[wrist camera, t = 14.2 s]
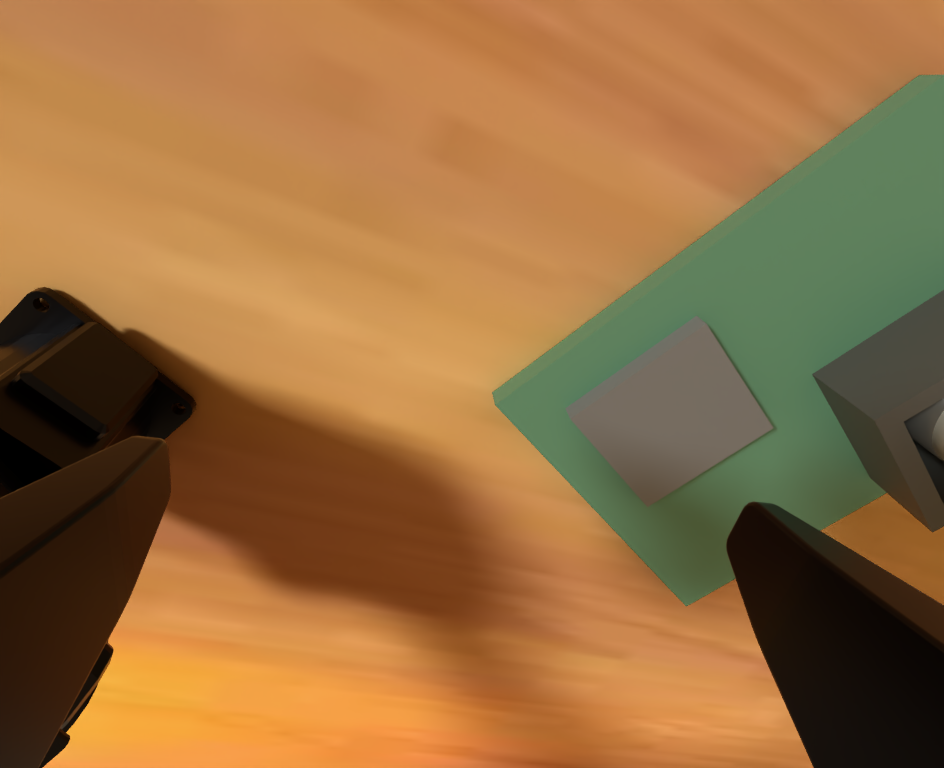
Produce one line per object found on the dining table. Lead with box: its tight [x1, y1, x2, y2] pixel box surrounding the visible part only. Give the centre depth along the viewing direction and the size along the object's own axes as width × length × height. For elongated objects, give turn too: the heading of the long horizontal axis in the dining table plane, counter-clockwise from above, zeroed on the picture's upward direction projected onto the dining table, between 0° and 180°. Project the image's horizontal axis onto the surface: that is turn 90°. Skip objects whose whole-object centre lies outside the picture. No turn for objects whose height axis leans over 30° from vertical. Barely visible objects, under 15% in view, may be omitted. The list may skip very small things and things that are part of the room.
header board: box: [492, 75, 944, 606], centre depth 22 cm, size 18×16×4 cm
